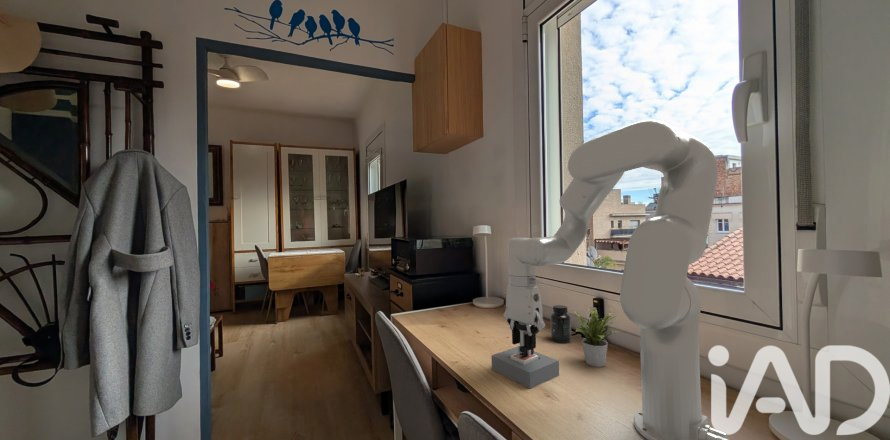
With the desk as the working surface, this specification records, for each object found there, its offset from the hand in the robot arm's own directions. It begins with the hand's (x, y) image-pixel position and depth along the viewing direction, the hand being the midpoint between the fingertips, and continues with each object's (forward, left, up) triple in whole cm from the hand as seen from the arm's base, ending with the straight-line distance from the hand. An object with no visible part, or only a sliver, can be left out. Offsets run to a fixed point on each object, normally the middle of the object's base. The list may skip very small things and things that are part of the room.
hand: (523, 345), depth 90 cm
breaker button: (0, 0, -6) cm, 6 cm away
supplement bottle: (+9, -30, -8) cm, 32 cm away
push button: (0, 0, -3) cm, 3 cm away
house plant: (-10, -21, -8) cm, 25 cm away
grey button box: (0, 0, -8) cm, 8 cm away
